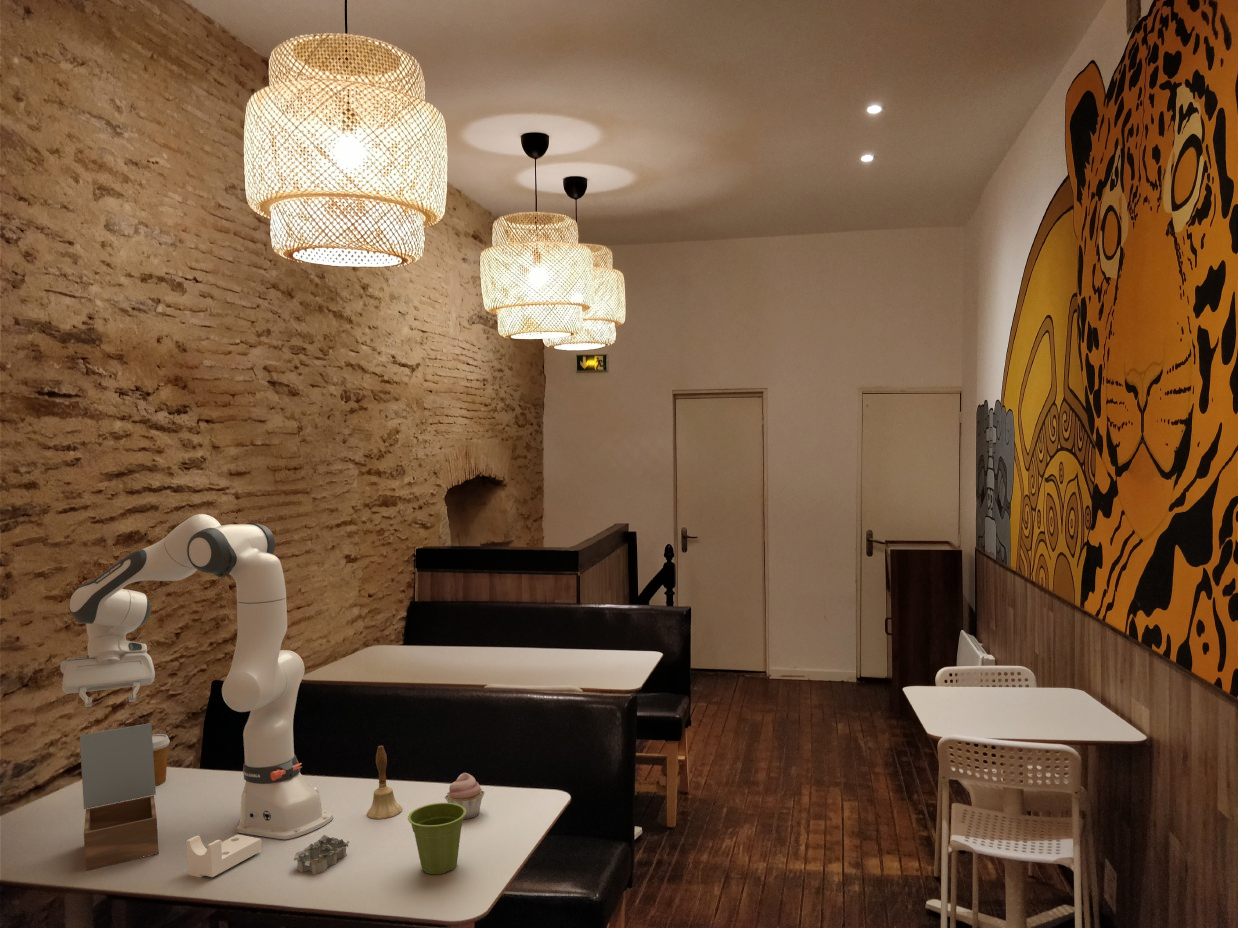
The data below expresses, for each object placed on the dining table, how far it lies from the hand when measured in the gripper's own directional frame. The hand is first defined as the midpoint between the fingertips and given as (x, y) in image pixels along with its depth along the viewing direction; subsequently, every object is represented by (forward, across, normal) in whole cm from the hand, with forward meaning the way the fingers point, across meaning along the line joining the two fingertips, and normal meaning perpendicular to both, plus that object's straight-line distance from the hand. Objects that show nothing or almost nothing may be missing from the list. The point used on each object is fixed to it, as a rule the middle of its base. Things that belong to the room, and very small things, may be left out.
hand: (110, 703), depth 226 cm
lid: (+17, +1, -2) cm, 18 cm away
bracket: (+51, +18, -18) cm, 57 cm away
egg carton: (+58, +35, -28) cm, 74 cm away
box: (+36, +1, +1) cm, 36 cm away
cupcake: (+55, +69, -28) cm, 93 cm away
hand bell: (+46, +54, -16) cm, 73 cm away
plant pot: (+70, +54, -44) cm, 98 cm away
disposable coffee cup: (+8, +12, +33) cm, 36 cm away
